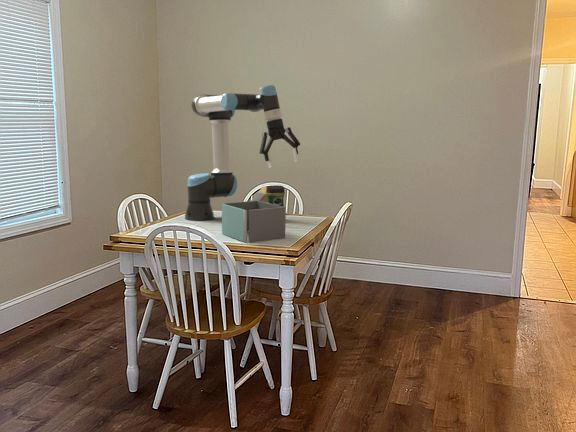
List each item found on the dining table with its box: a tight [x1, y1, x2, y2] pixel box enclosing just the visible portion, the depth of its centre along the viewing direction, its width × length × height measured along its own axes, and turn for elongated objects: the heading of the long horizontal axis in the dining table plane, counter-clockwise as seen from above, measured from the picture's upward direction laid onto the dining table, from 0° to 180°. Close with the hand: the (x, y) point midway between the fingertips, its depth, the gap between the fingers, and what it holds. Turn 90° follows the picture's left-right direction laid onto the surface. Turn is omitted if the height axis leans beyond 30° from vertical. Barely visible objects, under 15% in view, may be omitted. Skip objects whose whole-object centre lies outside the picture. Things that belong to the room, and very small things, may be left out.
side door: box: [221, 203, 248, 243], centre depth 242 cm, size 1×21×14 cm, turn 34°
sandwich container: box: [250, 185, 267, 203], centre depth 309 cm, size 9×15×15 cm, turn 123°
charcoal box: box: [223, 200, 287, 244], centre depth 248 cm, size 18×24×14 cm
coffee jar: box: [266, 184, 286, 207], centre depth 287 cm, size 10×8×19 cm
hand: (283, 164), depth 257 cm, fingers open, 13 cm apart
